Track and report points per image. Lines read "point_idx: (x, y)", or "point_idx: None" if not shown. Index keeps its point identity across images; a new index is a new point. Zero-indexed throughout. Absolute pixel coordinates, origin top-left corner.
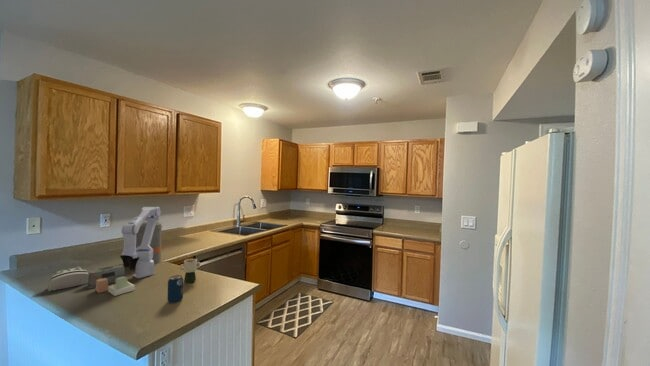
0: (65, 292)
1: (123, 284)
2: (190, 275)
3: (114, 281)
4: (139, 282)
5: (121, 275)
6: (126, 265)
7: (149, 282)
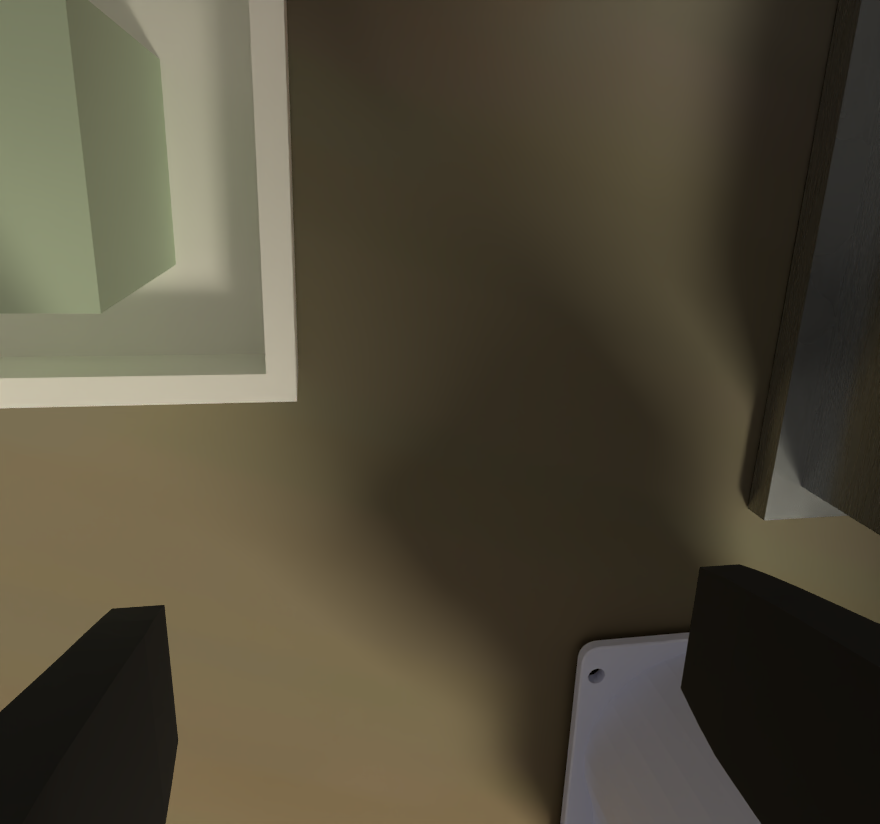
0: None
1: None
2: None
3: (794, 297)
4: (347, 593)
5: (859, 459)
6: (735, 664)
7: (188, 712)
